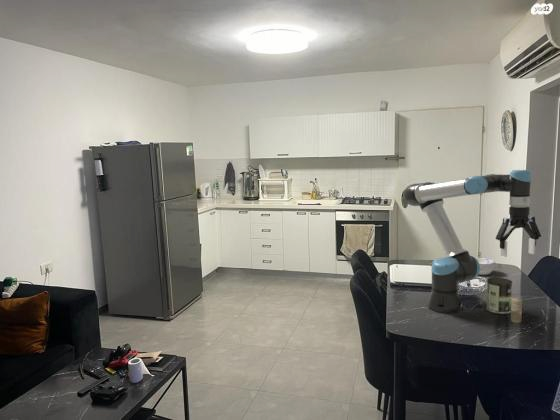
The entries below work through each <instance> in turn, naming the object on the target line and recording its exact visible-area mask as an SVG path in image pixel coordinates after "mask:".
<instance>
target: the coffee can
mask: <svg viewBox="0 0 560 420" xmlns="http://www.w3.org/2000/svg"><path fill="white" fill-rule="evenodd" d="M512 285H513V281H512V280H510V279H507V278H504V277H490V278H487V279H486V310H487V311H489V312H491V313H495V314H500V315H501V314H504V315H505V314H511V298H512V289H513V288H512Z"/></svg>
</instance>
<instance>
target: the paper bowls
mask: <svg viewBox="0 0 560 420" xmlns="http://www.w3.org/2000/svg"><path fill="white" fill-rule="evenodd" d="M475 258H476V259H477V260H478V262H479V264H480V272H479V274H478V276H479V275H480V276H481V275H482V276H488V275H490V274H491V273H492V271H495V270H496V261H495V260H494V259H492V258H487V257H475Z"/></svg>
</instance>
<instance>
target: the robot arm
mask: <svg viewBox="0 0 560 420" xmlns="http://www.w3.org/2000/svg"><path fill="white" fill-rule="evenodd" d="M531 182H532V180H531V171H530V170H528V169H512V170H511V171H510V173H509V174H495V173H492V174H485V175H474V176H470V177H465V178H460V179H456V180H455V179H454V180H449V181H443V182H437V183H436V182H431V181H428V182H421V183H419V182H418V183H413V184H409V185H408V186H406V188H405V189H404V191H403V200H404V201H405V203H407V205H410V207H411V206H412V207H420V209H421V211H422V212H423V213H425V214H426V215H427V217H428V219H429V222H430V223H431V225H432V228H433V230H434V232H435V235H436V236H437V238H438V241H439V242H440V244H441V247H442V249H443V251H444V255H445V257H439V258H436V259H434V260H433V261H432V262H431V263H432V265H431V292H430V294H429V298H428V300H427V307H428V309H430V308H431V309H430V310H432V309H433V310H432V311H434V310H435V311H434V312H437V311H438V312H439V313H444V314H454V313H459V312H460V311H462V310H463V309H462V306H463V305H462V301H461V298H460V295H459V284H462V283H465V282H470V281H472V280H474V279H476V278H477V277H478V276H479V272H480V264H479V262H478V260H477V259H476V258H477V257H474V256H473V255H471V254H470V253H469V250H467V249H465V248H463V246H462V244H461V241H460V240H459V237H458V235H457V233H456V232H455V230H454V227H453V225H452V223H451V221H450V219H449V217H448V214H447V213H446V210H445V209H444V203H445V202H444V199H449V198H456V197H462V196H463V197H465V196H471V195H472V196H474V195H481V194H485V193H496V192H503V193H504V192H505V193H509V200H508V201H509V202H508V203H509V206H510V207H508V210H509V211H508V214H509V218H508V217H503V218H502V223H501V225H500V227H499V229H498V232H497V234H496V236H495V240H497V241H499V248H500V256H502V257H508V241H507V240H508V238H509V237H510V236H511V234H512V233H513V231H514V230H516V229H520V228H521V229H524V230H525V232H526V233H527V235H528V236H529V237H530V238H528V254H530V255H535V254H536V247H537V240H539V238H541V237H542V234H541V232H540V230H539V227H538V224H537V223H536V216H533V215H532V216H531V215H530V210H531V209H530V208H531V207H530V204H531V203H530V202H531V198H530V197H531Z"/></svg>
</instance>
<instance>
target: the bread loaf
mask: <svg viewBox="0 0 560 420" xmlns="http://www.w3.org/2000/svg"><path fill="white" fill-rule="evenodd" d="M522 310H523V299H522V298H520V297H515V296H514V297H513V296H512V297H511V312H510V322H512V323H515V324H520V323H522V313H523V312H522Z"/></svg>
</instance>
